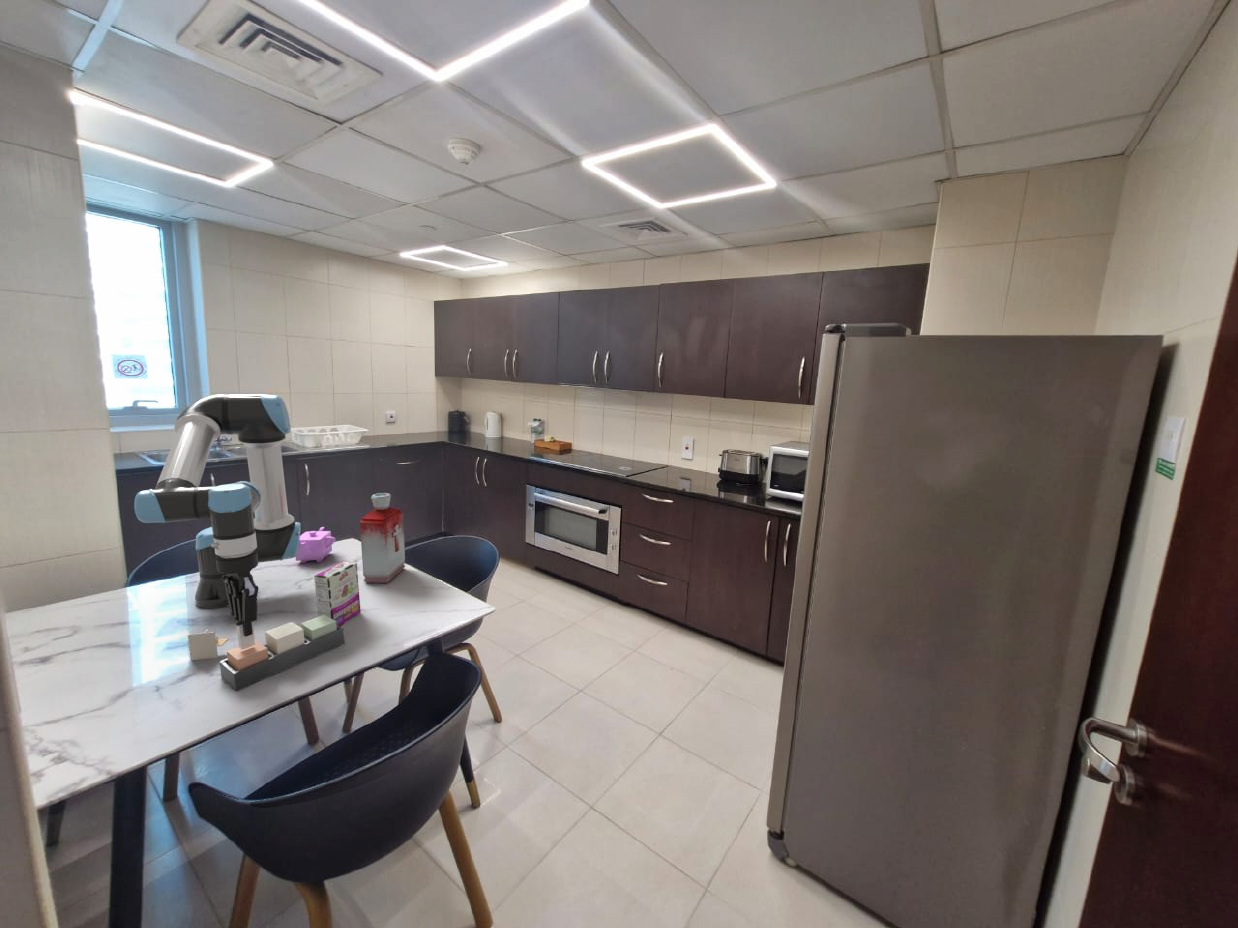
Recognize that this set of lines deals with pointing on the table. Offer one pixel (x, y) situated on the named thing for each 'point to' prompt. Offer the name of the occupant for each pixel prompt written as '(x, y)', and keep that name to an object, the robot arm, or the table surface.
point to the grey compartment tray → (280, 660)
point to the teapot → (315, 545)
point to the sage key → (318, 627)
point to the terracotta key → (247, 656)
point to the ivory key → (284, 638)
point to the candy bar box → (338, 592)
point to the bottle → (382, 541)
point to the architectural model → (204, 645)
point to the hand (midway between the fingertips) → (247, 646)
